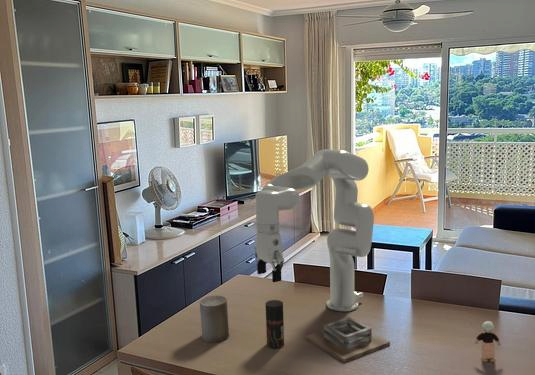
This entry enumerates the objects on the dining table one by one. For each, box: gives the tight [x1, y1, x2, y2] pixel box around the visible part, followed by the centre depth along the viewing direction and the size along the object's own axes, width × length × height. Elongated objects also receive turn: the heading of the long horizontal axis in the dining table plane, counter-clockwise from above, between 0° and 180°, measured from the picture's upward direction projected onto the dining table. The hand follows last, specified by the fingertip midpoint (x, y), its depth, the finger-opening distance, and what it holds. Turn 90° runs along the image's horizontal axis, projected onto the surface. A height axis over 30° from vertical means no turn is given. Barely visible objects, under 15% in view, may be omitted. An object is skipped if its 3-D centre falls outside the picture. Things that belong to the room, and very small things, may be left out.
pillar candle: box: [199, 294, 230, 343], centre depth 185 cm, size 10×10×15 cm
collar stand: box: [306, 316, 391, 363], centre depth 179 cm, size 20×20×6 cm
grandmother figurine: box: [474, 320, 502, 363], centre depth 163 cm, size 8×4×13 cm, turn 92°
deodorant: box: [265, 299, 285, 350], centre depth 178 cm, size 6×6×15 cm
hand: (269, 277), depth 175 cm, fingers open, 9 cm apart
